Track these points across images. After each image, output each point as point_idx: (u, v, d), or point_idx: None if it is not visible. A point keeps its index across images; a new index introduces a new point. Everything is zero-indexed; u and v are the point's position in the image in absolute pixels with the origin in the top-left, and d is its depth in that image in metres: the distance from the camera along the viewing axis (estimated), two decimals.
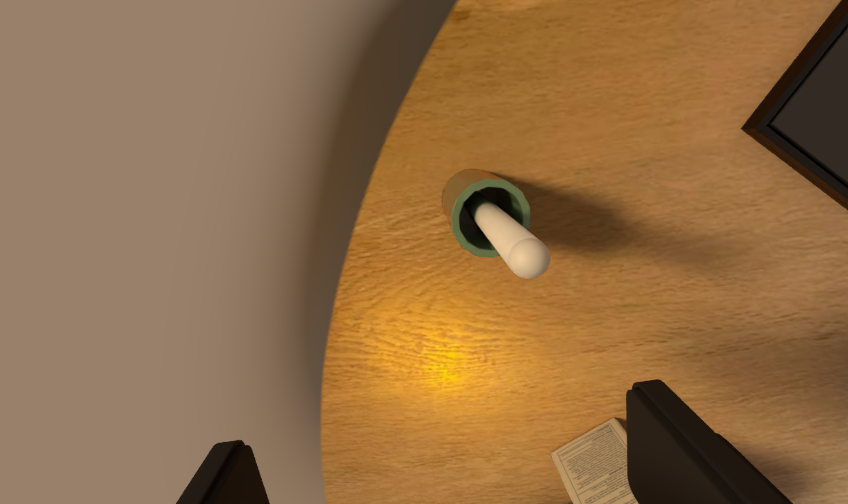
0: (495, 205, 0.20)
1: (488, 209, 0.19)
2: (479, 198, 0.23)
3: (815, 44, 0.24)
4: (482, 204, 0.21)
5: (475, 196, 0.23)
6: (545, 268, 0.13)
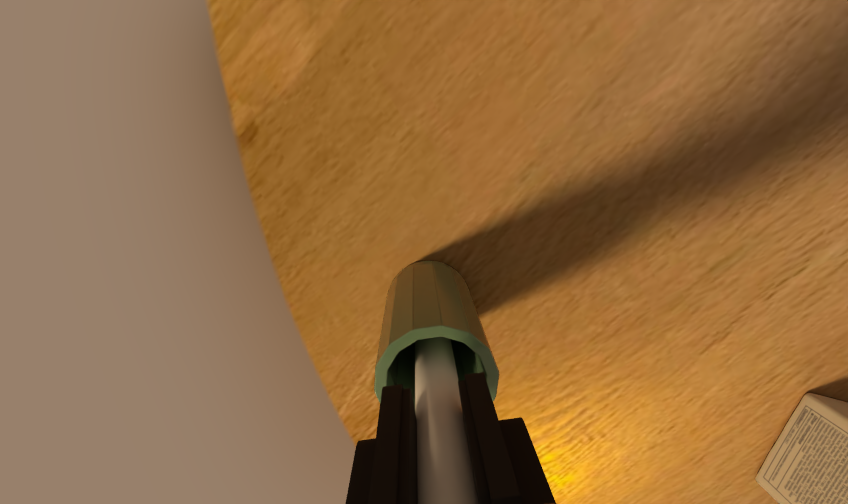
0: (429, 359, 0.13)
1: (417, 389, 0.12)
2: None
3: None
4: (416, 361, 0.14)
5: None
6: None
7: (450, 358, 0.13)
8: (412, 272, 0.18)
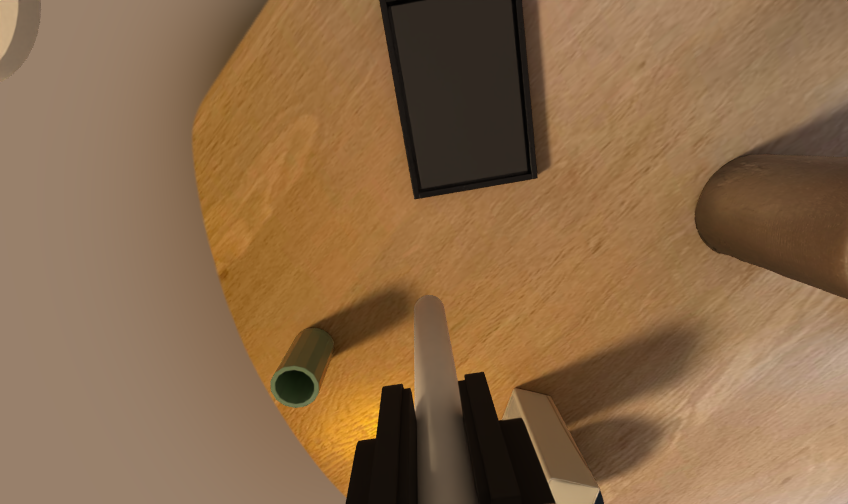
0: (429, 360, 0.13)
1: (416, 391, 0.12)
2: (417, 335, 0.15)
3: None
4: (416, 362, 0.14)
5: (416, 324, 0.16)
6: None
7: (450, 360, 0.13)
8: (301, 335, 0.38)
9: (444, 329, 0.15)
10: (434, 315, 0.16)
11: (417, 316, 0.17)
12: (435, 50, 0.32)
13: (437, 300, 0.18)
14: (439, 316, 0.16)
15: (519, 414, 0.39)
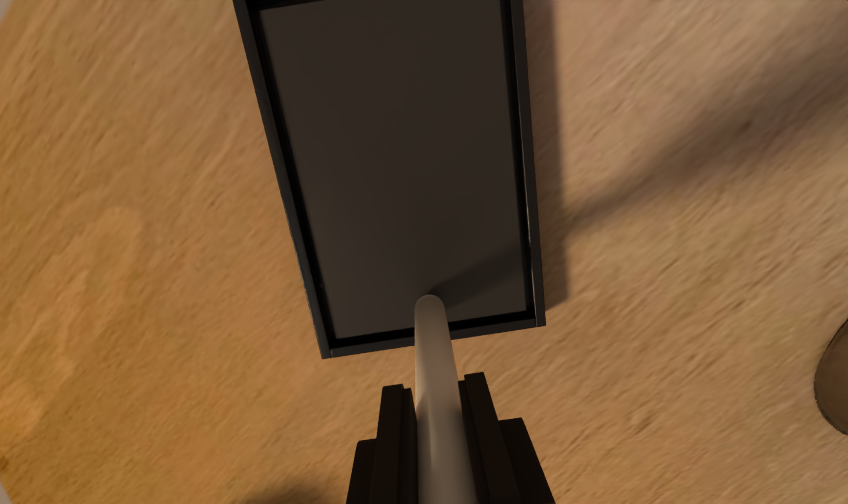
0: (429, 360, 0.13)
1: (417, 390, 0.12)
2: (418, 334, 0.15)
3: None
4: (416, 362, 0.14)
5: (416, 324, 0.16)
6: None
7: (450, 359, 0.13)
8: None
9: (445, 329, 0.15)
10: (435, 315, 0.16)
11: (418, 316, 0.17)
12: (352, 96, 0.17)
13: (437, 300, 0.18)
14: (440, 316, 0.16)
15: None
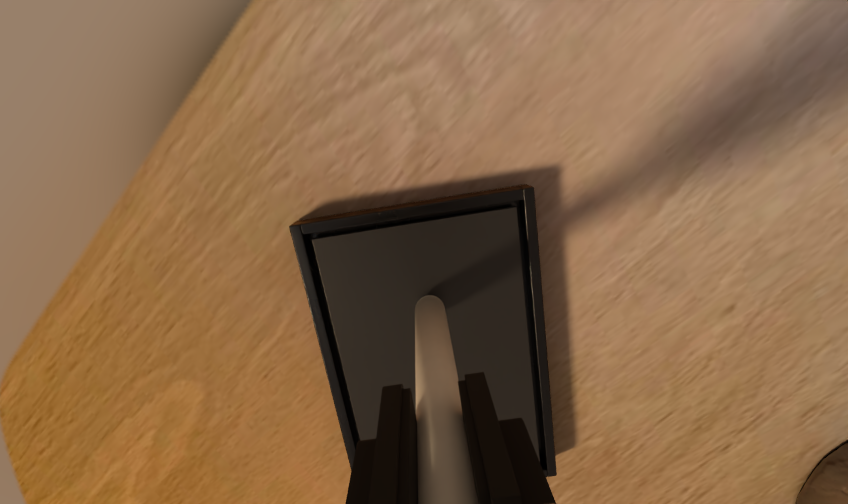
0: (430, 360, 0.13)
1: (417, 390, 0.12)
2: (418, 335, 0.15)
3: None
4: (417, 362, 0.14)
5: (417, 324, 0.16)
6: None
7: (450, 360, 0.13)
8: None
9: (445, 329, 0.15)
10: (435, 315, 0.16)
11: (418, 316, 0.17)
12: (390, 302, 0.19)
13: (438, 300, 0.18)
14: (440, 316, 0.16)
15: None
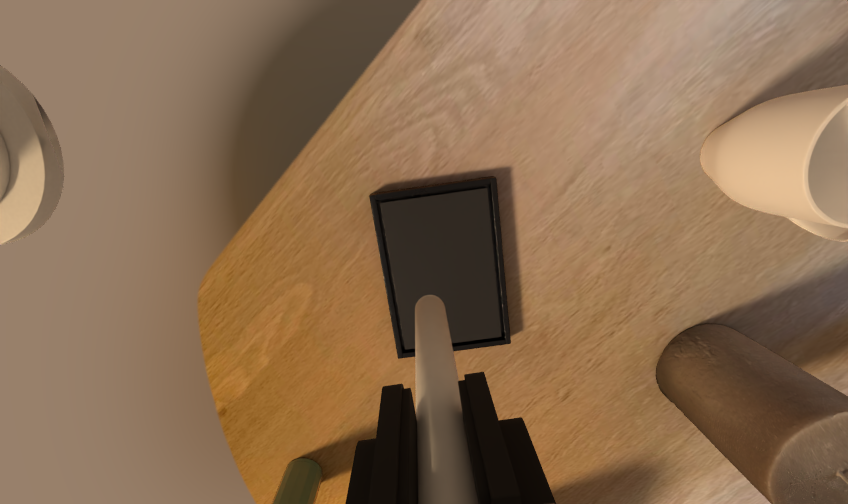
0: (430, 360, 0.13)
1: (417, 390, 0.12)
2: (418, 334, 0.15)
3: None
4: (417, 362, 0.14)
5: (417, 324, 0.16)
6: None
7: (450, 359, 0.13)
8: (291, 469, 0.42)
9: (445, 329, 0.16)
10: (435, 315, 0.16)
11: (418, 316, 0.17)
12: (419, 238, 0.36)
13: (438, 300, 0.18)
14: (440, 316, 0.16)
15: None
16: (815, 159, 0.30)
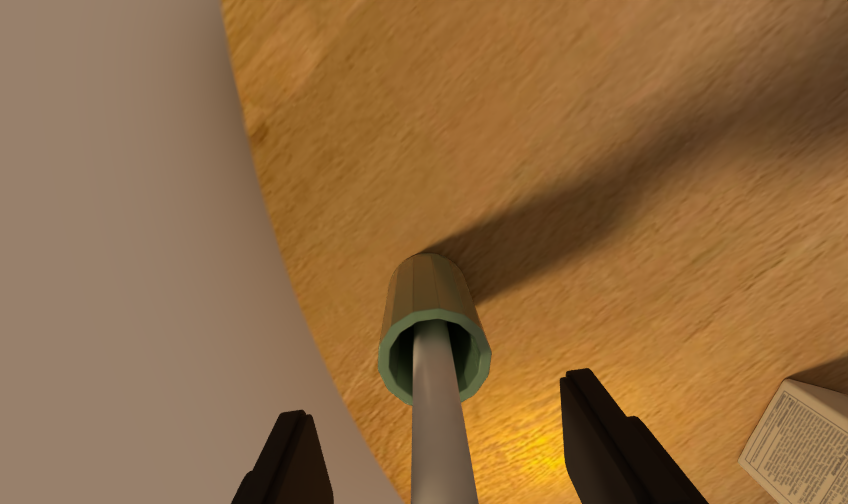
0: (426, 337, 0.14)
1: (415, 362, 0.13)
2: None
3: None
4: (415, 340, 0.15)
5: None
6: None
7: (445, 337, 0.15)
8: (412, 263, 0.19)
9: None
10: None
11: None
12: None
13: None
14: None
15: (838, 430, 0.20)
16: None
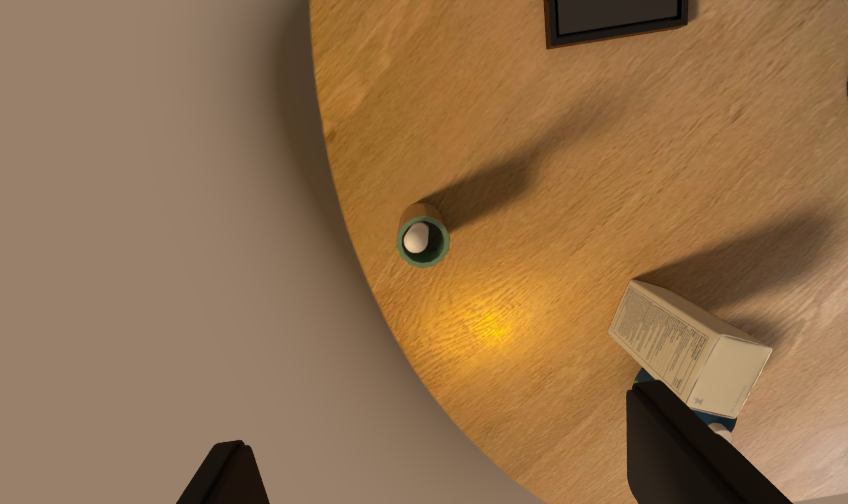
0: (416, 222, 0.30)
1: None
2: None
3: None
4: None
5: None
6: (423, 239, 0.23)
7: (426, 224, 0.31)
8: (412, 206, 0.35)
9: (426, 222, 0.33)
10: None
11: None
12: None
13: None
14: None
15: (646, 298, 0.36)
16: None
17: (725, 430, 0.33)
